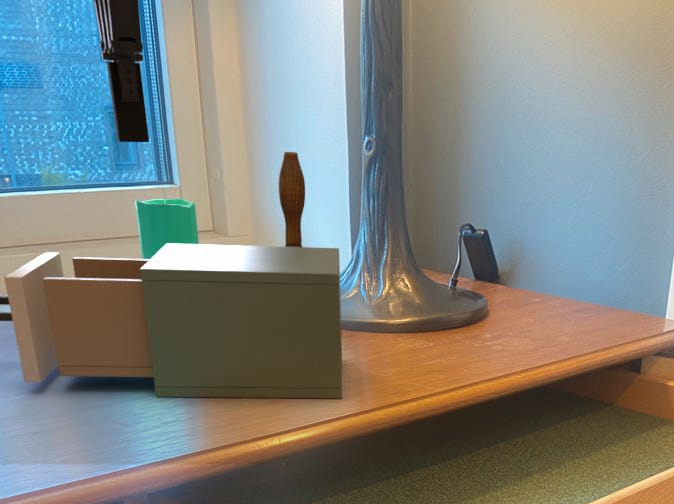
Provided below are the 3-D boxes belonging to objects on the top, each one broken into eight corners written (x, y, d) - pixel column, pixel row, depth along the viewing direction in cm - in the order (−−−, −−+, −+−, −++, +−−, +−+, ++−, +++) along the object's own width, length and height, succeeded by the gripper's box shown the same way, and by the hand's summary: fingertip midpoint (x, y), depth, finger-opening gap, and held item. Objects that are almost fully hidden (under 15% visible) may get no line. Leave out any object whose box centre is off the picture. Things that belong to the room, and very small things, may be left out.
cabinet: (155, 397, 76) (139, 269, 71) (179, 356, 86) (166, 243, 82) (342, 398, 78) (338, 273, 73) (342, 359, 88) (339, 248, 83)
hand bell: (310, 310, 106) (303, 148, 98) (351, 325, 100) (347, 155, 92) (241, 318, 101) (228, 148, 93) (281, 334, 96) (270, 155, 87)
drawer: (-43, 381, 74) (-67, 275, 70) (2, 345, 84) (-17, 250, 80) (202, 384, 76) (192, 281, 72) (218, 349, 86) (210, 256, 82)
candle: (161, 313, 101) (146, 188, 95) (138, 303, 105) (123, 182, 99) (214, 308, 104) (203, 187, 98) (190, 298, 108) (178, 181, 102)
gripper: (36, -170, 83) (83, 136, 95) (51, -201, 73) (101, 146, 85) (126, -158, 86) (160, 137, 98) (153, -186, 76) (187, 147, 88)
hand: (133, 141), depth 91 cm, fingers closed
